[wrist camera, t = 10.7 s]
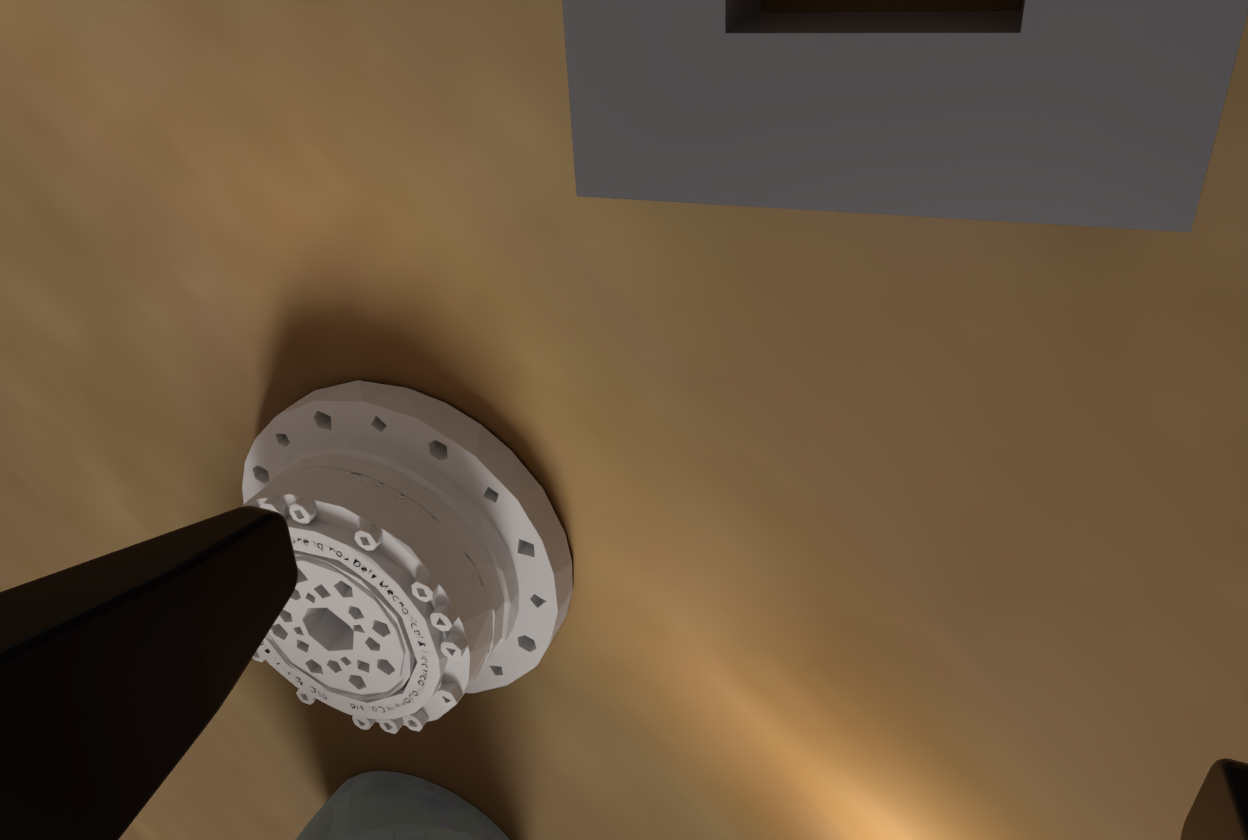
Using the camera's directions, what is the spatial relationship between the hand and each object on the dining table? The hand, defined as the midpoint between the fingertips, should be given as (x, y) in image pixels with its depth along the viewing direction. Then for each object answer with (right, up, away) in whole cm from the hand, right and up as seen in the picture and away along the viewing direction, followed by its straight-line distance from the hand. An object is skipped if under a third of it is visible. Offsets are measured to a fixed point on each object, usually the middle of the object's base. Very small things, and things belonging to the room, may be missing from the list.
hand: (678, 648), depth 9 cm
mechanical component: (-6, -1, +18) cm, 20 cm away
